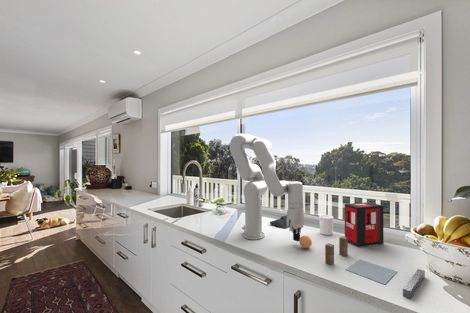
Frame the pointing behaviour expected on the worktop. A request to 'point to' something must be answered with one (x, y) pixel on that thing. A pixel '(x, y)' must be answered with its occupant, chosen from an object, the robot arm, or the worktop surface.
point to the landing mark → (372, 271)
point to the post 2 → (343, 246)
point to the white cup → (326, 224)
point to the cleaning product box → (364, 224)
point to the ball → (305, 241)
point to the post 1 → (329, 254)
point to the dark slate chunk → (280, 222)
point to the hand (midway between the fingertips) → (296, 240)
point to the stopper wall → (413, 284)
